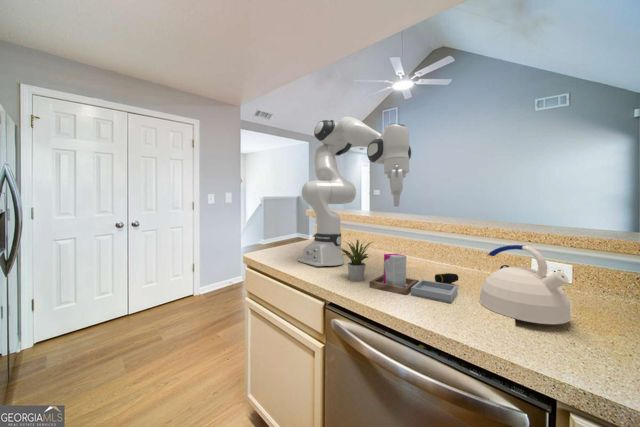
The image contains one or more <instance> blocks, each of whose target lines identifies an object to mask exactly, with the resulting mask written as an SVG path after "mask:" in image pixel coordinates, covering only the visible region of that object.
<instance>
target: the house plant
mask: <svg viewBox="0 0 640 427" xmlns="http://www.w3.org/2000/svg"><path fill="white" fill-rule="evenodd" d="M348 241H349V242H350V243H349V242H347V241H343V242H344V243H346V244H344V246H346V245H348V246H346V247H347V249H349V250H350V251H351V253H350V252H349V251H348V250H346V249H344V248H342V247H341V248H339V249H340V250H341V252H343V253H342V256H347V257H348V258H349V260H350V262H347V268H348V269H347V270H348V277H349V280H350V281H354V282H361V281H363V280H364V277H365V271H366V266H367V264H366V263H365V262H362V261H364V260H365V259H367V258H368V259H369V256H370V257H371V255H370V254H368V253H366V251H367V250H368V248H369V247H371V244H372V243H373V241H371V242H368V241H364V242H363V243H360V240H358V239H356V243H355V245H354V243H353V242H352V241H351V240H349V239H348ZM367 242H368V243H367ZM365 243H367V244H366V245H365V246H363V245H364V244H365ZM359 246H360V247H359Z"/></svg>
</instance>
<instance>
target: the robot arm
mask: <svg viewBox="0 0 640 427" xmlns="http://www.w3.org/2000/svg"><path fill="white" fill-rule="evenodd" d="M313 136H314V137H315V138H316V139H317V141H319V142H321V143H322V144H321V145H319V146H318V147H316V149H315V153H314V172H315V176H316V178H317V180H310V181H306V182H305V183H304V184H303V186H302V189H301V197H302V198H303V200H304V201H305V202H306V203H307V204H308V205H309V206H310V207H311V208H312V210H313V211H314V213H315V217H316V233H314V234H313V235H312V238H314V239H313V241H312V242H311V243H309V244H308V245H307V246H305V247H304V249H303V251H302V257H299V258H298V259H297V262H299V261H300V262H299V263H302V264H303V263H304V264H307V265H311V266H314V267H324V266H326V267H327V266H329V267H331V266H332V267H333V266H340V265H344V260H343V255H342V254H343V253H342V250H340V249H339V248H342V233H341V216H340V215H339V214H338V213H336V212H335V211H334V210H333V211H332V210H330V208H329V205H345V204H349V203H350V204H351V203H353V201H354V200H355V198H356V197H357V189H356V187H355V185H354V183H352V182H351V181H348V180H347V179H345V178H344V177H343V176H342V174H341V173H340V172H339V170H338V166H337V160H336V156H341V155H344V154H345V153H347V152H349V151H350V150H351V148H352V146H356V147H362V148H363V147H365V148H366V155H367V158H368V160H369V162H370V163H373V164H378V165H379V164H380V165H383V173H384V174H385V175H387V179H388V180H389V186H390V193H391V195H392V196H393V206H394V207H399V205H400V196H401V194H402V192H403V187H404V186H403V182H404V181H403V180H404V179H405V178H406V177H407V176H406V174H408V173H410V159H411V157H412V148H411V146H410V134H409V128H408V126H406V125H404V124H402V123H390V124H387V125H386V126H385V127H384V130H383V132H382V133H380V132H378V131H376V130H375V129H373V128H372V127H370V126H369V125H367V124H366V123H364V122H363V121H361V120H360V119H357V118H356V117H353V116H344V117H342V118H341V119H339V121H338V122H335V121H334V120H333V119H331V120H328V119H324V120H320V121H319V122H317V123H316V126H315V128H314V132H313Z"/></svg>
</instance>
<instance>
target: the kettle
mask: <svg viewBox="0 0 640 427" xmlns="http://www.w3.org/2000/svg"><path fill="white" fill-rule="evenodd" d="M510 250H511V251H512V250H520V251H526V252H528V253H530V254H531V255H532V256H533V257H534V259H535V261H536V263H537V270H536V269H533V268H530V267H525V266H516V265H515V266H509V265H508V264H507V265H506V264H503V265H501V266H500V267H499V269H498V270H496V271H494V272H492V273H491V274H489V276H488V277H486V278H485V280H484V281H483V283H482V285H481V289H480V296H479V300H478V301H479V302H480V304H481V305H482V306H483V307H484V308H486V309H488V310H490V311H492V312H494V313H496V314H499V315H502V316H505V317H509V318H511V319H514V320H517V321H522V322H523V321H524V322H528V323H533V324H539V325H540V324H541V325H563V324H565V323H568V322H570V321H571V320H572V316H571V306H570V305H571V304H570V300H569V298H568V297H567V295H566V293H565V291H564V289H562V286H564V285H567V284H569V281H570V280H569V278H568V276H567V275H566V274H565V273H563V272H561V271H557V270H556V271H554V273H552V274H550V275H547V273H548V263H547V261H546V259H545V257H544V256H543V255H542V253H541V252H540V251H538V250H537V249H535V248H533V247H531V246H527V245H523V244H510V245H509V244H508V245H505V246H500V247H497V248H495V249H493V250H491V251H490V252H489V253H488V256H490V257H495V256H497V255H498V254H500V253H502V252H506V251H510Z"/></svg>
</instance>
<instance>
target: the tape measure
mask: <svg viewBox="0 0 640 427" xmlns="http://www.w3.org/2000/svg"><path fill="white" fill-rule="evenodd" d="M458 281H459V276H458V274H456V273H450V272H449V273H437V274H435V275H434V282H438V283H444V284H452V283H455V282H458Z"/></svg>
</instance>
